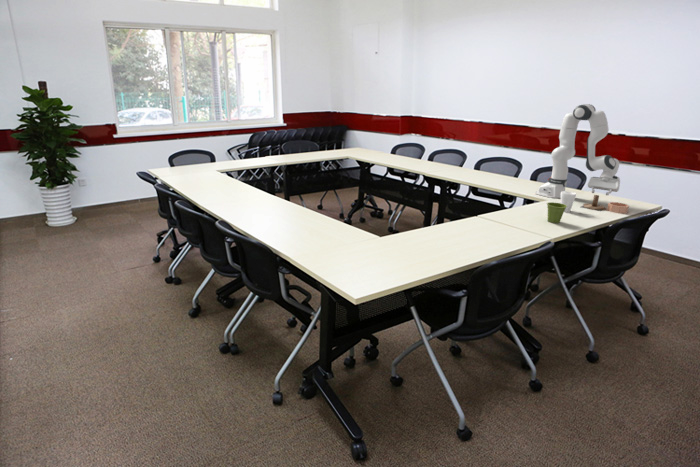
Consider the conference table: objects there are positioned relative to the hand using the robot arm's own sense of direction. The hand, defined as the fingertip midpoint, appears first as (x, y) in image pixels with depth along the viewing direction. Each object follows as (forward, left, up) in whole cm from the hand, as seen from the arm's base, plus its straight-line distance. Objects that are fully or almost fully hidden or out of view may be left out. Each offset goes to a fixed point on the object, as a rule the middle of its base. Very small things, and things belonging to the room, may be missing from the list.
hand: (599, 193), depth 318 cm
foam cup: (-11, -30, -10) cm, 34 cm away
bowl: (+14, -1, -10) cm, 17 cm away
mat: (-1, -5, -10) cm, 11 cm away
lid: (0, -5, -10) cm, 11 cm away
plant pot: (-6, -63, -10) cm, 64 cm away
